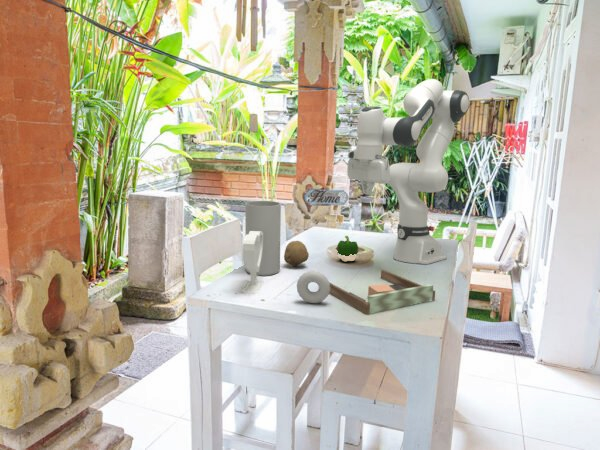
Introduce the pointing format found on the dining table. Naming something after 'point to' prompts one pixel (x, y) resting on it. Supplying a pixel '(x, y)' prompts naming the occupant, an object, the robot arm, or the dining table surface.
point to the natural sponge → (295, 253)
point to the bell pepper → (347, 247)
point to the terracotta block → (379, 289)
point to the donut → (317, 278)
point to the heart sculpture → (253, 259)
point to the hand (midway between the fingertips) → (367, 194)
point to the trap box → (387, 295)
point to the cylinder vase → (266, 232)
